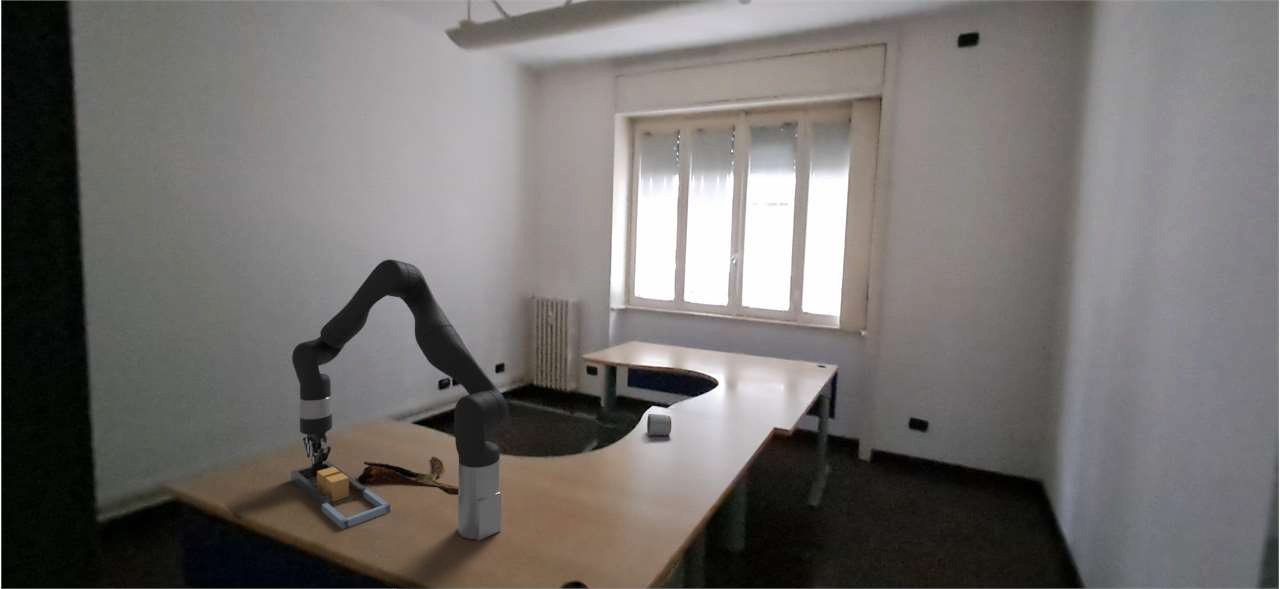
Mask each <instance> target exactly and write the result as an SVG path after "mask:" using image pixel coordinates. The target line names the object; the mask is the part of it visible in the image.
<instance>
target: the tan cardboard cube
mask: <svg viewBox="0 0 1280 589" xmlns="http://www.w3.org/2000/svg"><path fill="white" fill-rule="evenodd" d="M336 474H340V471H339V470H337V469H336V468H335V467H330V468H327V469H323V470H320V471H317V488H318V489H320V490H321V491H322V492H323V493H325V494H326V482H325V478H326V477H330V476H333V475H336Z"/></svg>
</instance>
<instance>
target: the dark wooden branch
mask: <svg viewBox="0 0 1280 589" xmlns="http://www.w3.org/2000/svg"><path fill="white" fill-rule="evenodd" d="M430 458H431V462H432V466H431V467H432V471H431V472H429V473H428V474H427V473H422V472H415V471H412V470H410V469H407V468H403V467H400V466H396V465H392V464H391V465H390V464H389V463H383V462H373V461H364V462H363V465H366V467H365V468H363V470H362V473H361V474H360V475H359V476H358V479H357V482H358V483H360V484H361V485H362V484H366V483H367V484H368V483H370V484H372V485H374V484H402V485H411V486H412V485H413V486H420V487H431V488H438V489H439V490H441V491H442V492H444V493H446V494H458V493H459V486H456V485H451V484H448V483H447V484H446V483H443V482H442V483H441V482H437V480H439V479H440V478H441V477H442V476H443V475H444V473H445V472H446V469H445V466H444V462H443V461H442V460H440V458H438V457H436V456H431V457H430Z"/></svg>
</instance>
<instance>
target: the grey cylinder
mask: <svg viewBox="0 0 1280 589" xmlns="http://www.w3.org/2000/svg"><path fill="white" fill-rule="evenodd" d="M646 429H647V430H646V432H647V435H648V436H669V435H670V434H671V432H672V418H671V416H670V415H668V414H667V415H666V414H657V413H648V415H647V421H646Z"/></svg>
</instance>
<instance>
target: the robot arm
mask: <svg viewBox="0 0 1280 589" xmlns="http://www.w3.org/2000/svg"><path fill="white" fill-rule="evenodd" d="M387 296H388V297H393V298H394V297H395V298H399V299H401V300H402V301H403V302H404V304H406V306H407V307H408V309H409V310H410V312H411V314H412V316H413V319H414V338H415V340H416V341H415V342H416V344H417V346H418V347H419V348H420V350H421V352H422V354H423V356H424V357H425V358H426V360H427V362H428V363H430V365H431V366H433V367H434V368H436V369H437V370H438V371H440V372H441V373H443V374H444V375H446V376H448V377H450V378H451V379H453V380H454V381H456V383H457V382H458V383H459V384H460V385H461V386H462V387H463V389H465V390H466V393H468V394H467V395H465V396H462V397H460V398H459V399H458V400H457V403H455V408H454V414H453V415H454V418H453V419H454V420H453V421H454V422H453V423H454V436H455V439H454V441H455V449H456V452H457V455H458V487H459V493H458V495H457V496H458V498H457V499H458V504H457V506H458V511H457V512H458V515H457V516H458V517H457V518H458V521H457V522H458V524H457V532H458V535H460V537H463V538H465V539H469V540H476V541H478V542H480V541H482V540H484V539H486V538H488V537H490V536H492V535H495V534H497V533H499V532H501V531H502V529H501V528H502V527H501V526H502V525H501V524H502V492H500V461H501V460H500V457H501V456H500V455H501V453H500V451H501V450H500V447H499V445H498V444H496V443H494V442H491V441H487V440H486V435H485V434H486V432H487V431H491V430H493V429H495V428H498V427H500V426H502V425H504V424H505V423H506V422H507V420H508V417H509V408H508V403H507V401H506V398H505V397H504V396H503V394H502V392H501V391H500V390H499V388H498V387H497V386H496V384H494V382H493V381H492V379H490V377H488V375H487V373H485V372H484V371H483V369H482V368H481V366H480V365H479V363H478V362H477V361H476V359H475V358H474V356H473V355H472V354H471V352H470V351H469V349H468V348H467V346H466V345H465V343H464V341H463V339H462V338H461V337H460V335H459V333H458V332H457V330H456V328H455V327H454V325H453V324H452V323H451V322H450V320H449V318H448V317H447V316H446V314H445V312H444V311H443V310H442V308H441V306H440V305H439V303H438V302H437V300H436V298H435V296H434V295H433V293H432V290H431V288H430V286H429V285H428V282H427V280H426V278H425V276H424V275H423V273H422V271H421V269H419V268H418V267H417V266H416V265H413V264H411V263H408V262H404V261H401V260H396V259H385V260H383V261H381V262H380V263H378V264H377V266H376V267H375V268H373V270H372V271H371V272H370V274H369V275H368V276H367V277H366V279H365V280H364V281H363V283H362V284H361V285H360V286H359V288H358V289H357V290H356V292H355V293H354V294H353V295H352V297H351V299H350V300H349V301H348V302H347V304H345V306H344V307H343V308H342V309H341V310H340V311H339V312H337V313H336V315H334V316H333V317H332V318H331V319H330V320H328V321H327V322H326V324H324V325H323V327H322V328H321V329H320V334H319V335H320V336H319V337H318V338H316V339H315V338H314V339H311V340H308V341H304V342H301V343H299V344H297V345H296V346H295V347H294V349H293V351H292V356H291V358H292V365H293V368H294V372H295V374H296V377H297V380H298V382H299V398H300V399H299V406H298V408H299V409H298V411H299V412H298V414H299V432H300V433H301V434H303V435H306V437H305V436H304V437H303V439H302V441H303V444H304V448H305V452H306V455H307V458H308V459H309V462H310V463H311V466H312V475H313V476H314V477H317V471H320V470H323V463H324V462H327V460H328V458H329V455H330V453H331V450H332V447H331V446H330V445H328V446H327V443H328V438H327V435H326V433H327V432H328V431H331V429H333V401H332V396H331V392H332V391H331V389H332V387H331V386H332V384H331V378H330V376H329V375H328V374H326V373H321V372H320V368H319V367H320V366H323V365H325V364H328V363H331V361H333V360H334V359H335V358H336V357H338V355H339V354H340V352H341V351H342V350H343V349H344V347H345V345H346V344H347V343H349V342H350V341H351V340H352V339H353V338H354V337H355V336H356V335H357V334H359V333H360V331H361V330H362V329H363V328H364V326H365V325H366V323H367V320H368V317H369V314H370V311H371V309H372V308H373V307H374V305H375V304H377V302H379V301H380V300H382V299H383V298H385V297H387Z"/></svg>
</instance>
